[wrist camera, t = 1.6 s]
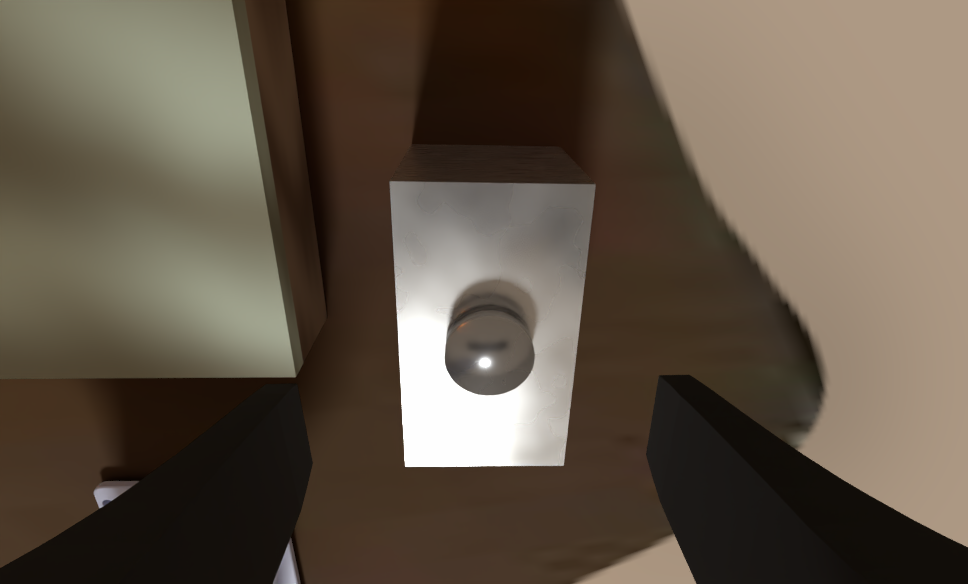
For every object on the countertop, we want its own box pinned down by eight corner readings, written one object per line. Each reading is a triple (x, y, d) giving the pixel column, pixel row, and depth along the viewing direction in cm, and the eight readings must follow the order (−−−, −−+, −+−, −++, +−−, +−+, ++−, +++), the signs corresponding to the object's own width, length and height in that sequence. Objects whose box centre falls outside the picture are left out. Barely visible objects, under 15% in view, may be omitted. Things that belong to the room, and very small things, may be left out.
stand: (327, 317, 20) (295, 376, 16) (61, 318, 20) (-31, 378, 16) (278, -53, 15) (217, -86, 11) (-83, -60, 15) (-265, -96, 11)
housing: (541, 368, 21) (568, 484, 16) (420, 368, 21) (402, 485, 16) (559, 146, 18) (603, 192, 12) (412, 143, 17) (384, 189, 12)
